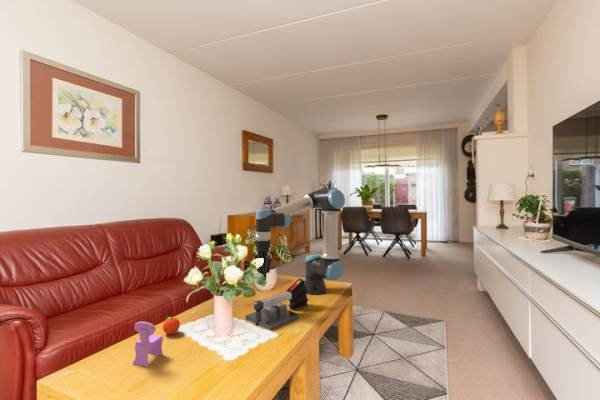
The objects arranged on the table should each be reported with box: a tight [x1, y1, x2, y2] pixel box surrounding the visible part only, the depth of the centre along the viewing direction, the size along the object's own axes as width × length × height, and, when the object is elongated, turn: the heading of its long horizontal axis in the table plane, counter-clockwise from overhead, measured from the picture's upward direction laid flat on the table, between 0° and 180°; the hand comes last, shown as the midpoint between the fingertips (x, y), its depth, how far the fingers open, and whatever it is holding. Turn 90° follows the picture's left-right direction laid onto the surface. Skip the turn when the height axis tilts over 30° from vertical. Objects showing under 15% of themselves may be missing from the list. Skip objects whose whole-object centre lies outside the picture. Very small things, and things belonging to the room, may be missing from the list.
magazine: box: [286, 278, 309, 311], centre depth 163 cm, size 4×13×15 cm, turn 136°
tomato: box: [162, 316, 181, 335], centre depth 132 cm, size 8×7×7 cm
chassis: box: [245, 302, 300, 331], centre depth 148 cm, size 20×18×7 cm
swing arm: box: [253, 290, 292, 311], centre depth 148 cm, size 22×4×3 cm, turn 137°
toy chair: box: [132, 321, 164, 368], centre depth 111 cm, size 8×9×15 cm
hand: (262, 286), depth 153 cm, fingers closed
